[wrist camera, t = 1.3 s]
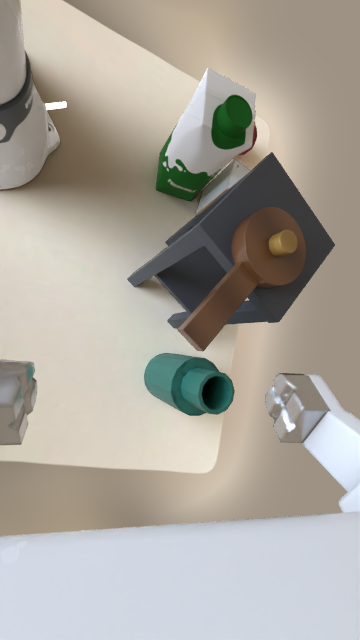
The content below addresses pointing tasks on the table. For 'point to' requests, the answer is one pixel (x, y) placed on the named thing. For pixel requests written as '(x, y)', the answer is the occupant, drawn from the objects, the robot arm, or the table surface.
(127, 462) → the table surface
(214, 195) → the small box
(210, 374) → the bottle
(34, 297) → the table surface
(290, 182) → the stand
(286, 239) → the lid
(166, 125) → the table surface
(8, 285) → the table surface
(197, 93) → the milk carton
